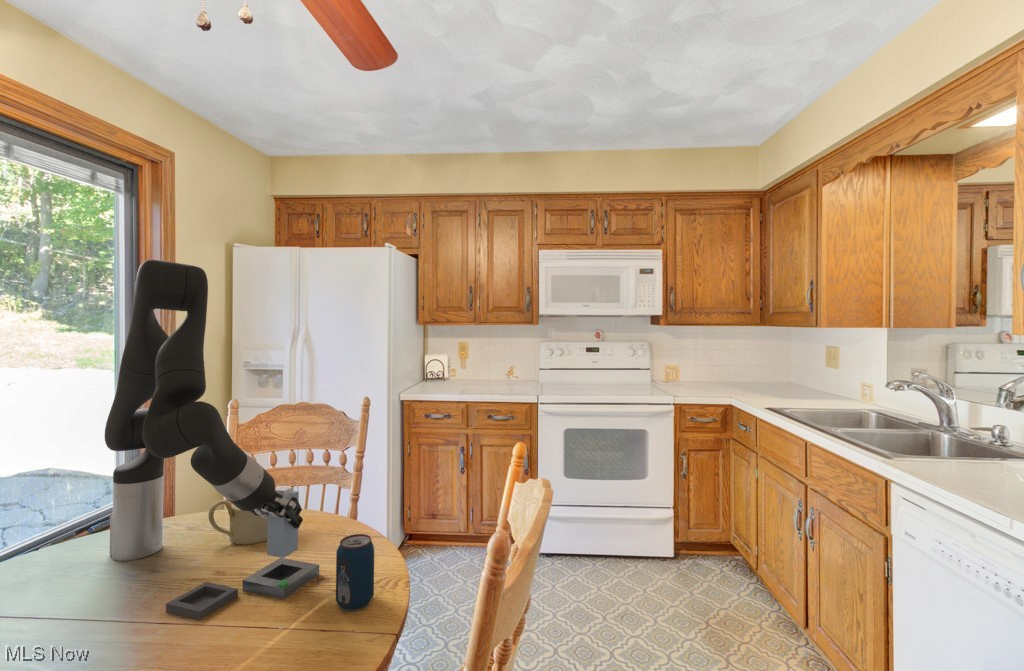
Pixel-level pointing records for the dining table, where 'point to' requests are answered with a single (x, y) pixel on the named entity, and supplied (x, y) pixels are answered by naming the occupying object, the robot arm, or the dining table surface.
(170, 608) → the holster
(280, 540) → the plug
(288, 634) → the dining table surface
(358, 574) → the soda can
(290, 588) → the port
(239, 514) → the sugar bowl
